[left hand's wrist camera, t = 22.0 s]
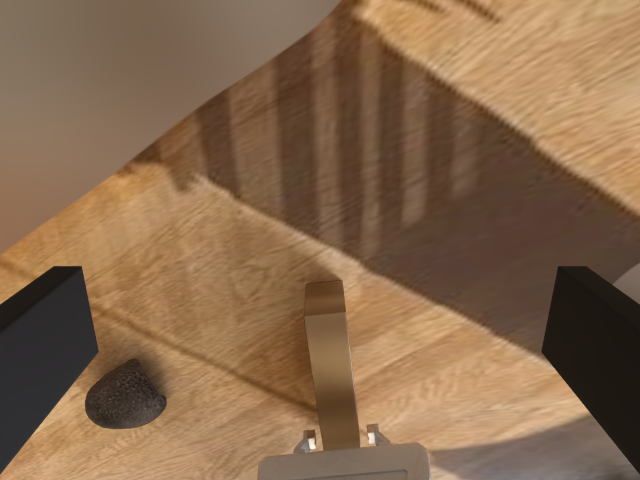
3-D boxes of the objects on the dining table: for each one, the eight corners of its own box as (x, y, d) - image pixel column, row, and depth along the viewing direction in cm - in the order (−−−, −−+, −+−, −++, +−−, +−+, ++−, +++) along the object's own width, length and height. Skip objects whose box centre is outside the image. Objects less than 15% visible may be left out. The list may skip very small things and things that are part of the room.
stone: (181, 360, 65) (133, 350, 57) (181, 423, 62) (129, 422, 53) (125, 373, 68) (71, 365, 59) (122, 434, 64) (64, 434, 56)
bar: (305, 283, 57) (303, 316, 50) (342, 279, 57) (345, 311, 49) (326, 430, 65) (327, 477, 58) (358, 427, 65) (363, 474, 57)
